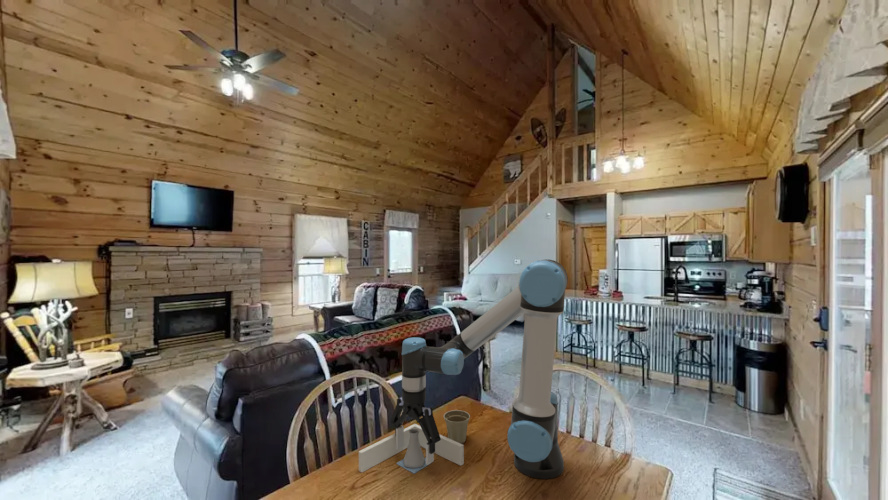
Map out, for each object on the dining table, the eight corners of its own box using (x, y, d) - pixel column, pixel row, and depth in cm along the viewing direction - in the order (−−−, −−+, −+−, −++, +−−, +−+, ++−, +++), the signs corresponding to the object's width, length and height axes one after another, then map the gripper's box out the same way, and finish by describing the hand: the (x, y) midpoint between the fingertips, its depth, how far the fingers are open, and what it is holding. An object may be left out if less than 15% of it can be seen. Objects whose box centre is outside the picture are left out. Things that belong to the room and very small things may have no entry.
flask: (426, 456, 123) (426, 425, 123) (424, 469, 116) (424, 436, 116) (404, 456, 123) (404, 425, 123) (401, 469, 116) (401, 436, 116)
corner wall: (463, 463, 119) (463, 444, 119) (408, 502, 101) (407, 480, 101) (415, 440, 134) (414, 423, 134) (358, 470, 116) (358, 451, 116)
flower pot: (460, 450, 127) (460, 424, 127) (438, 441, 133) (438, 417, 133) (475, 438, 135) (475, 414, 135) (453, 430, 140) (453, 407, 140)
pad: (432, 462, 120) (432, 461, 120) (414, 473, 114) (414, 473, 114) (414, 453, 125) (414, 452, 125) (396, 463, 119) (396, 463, 119)
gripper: (451, 394, 114) (452, 464, 114) (396, 375, 130) (397, 437, 131) (434, 402, 108) (435, 475, 108) (379, 381, 125) (379, 445, 125)
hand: (414, 454), depth 119 cm, fingers open, 13 cm apart
